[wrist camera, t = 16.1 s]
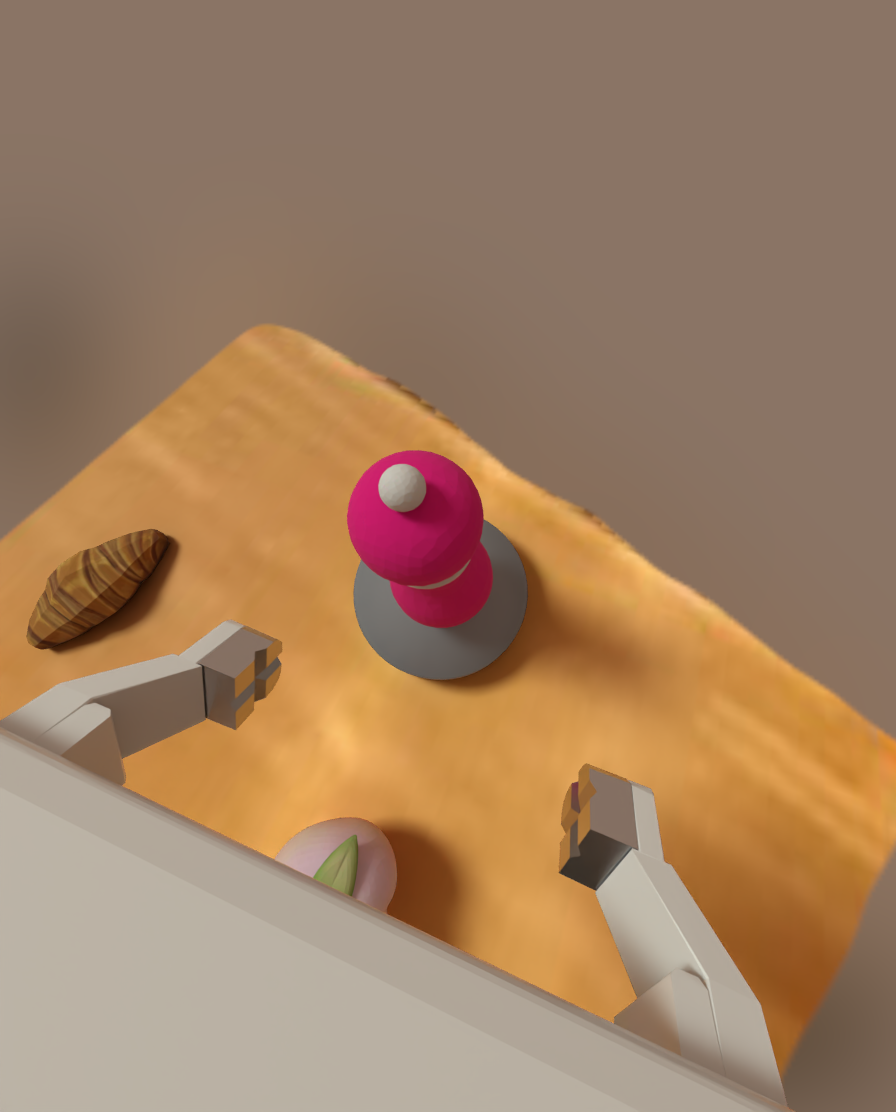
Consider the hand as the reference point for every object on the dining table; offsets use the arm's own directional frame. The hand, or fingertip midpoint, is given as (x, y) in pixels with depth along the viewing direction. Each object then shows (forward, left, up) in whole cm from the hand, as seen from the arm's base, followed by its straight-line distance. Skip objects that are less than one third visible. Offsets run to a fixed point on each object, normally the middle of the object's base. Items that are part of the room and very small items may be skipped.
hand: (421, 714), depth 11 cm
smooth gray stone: (+8, -1, -25) cm, 27 cm away
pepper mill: (+8, -1, -22) cm, 24 cm away
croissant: (+14, +29, -26) cm, 41 cm away
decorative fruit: (-11, +9, -25) cm, 29 cm away
